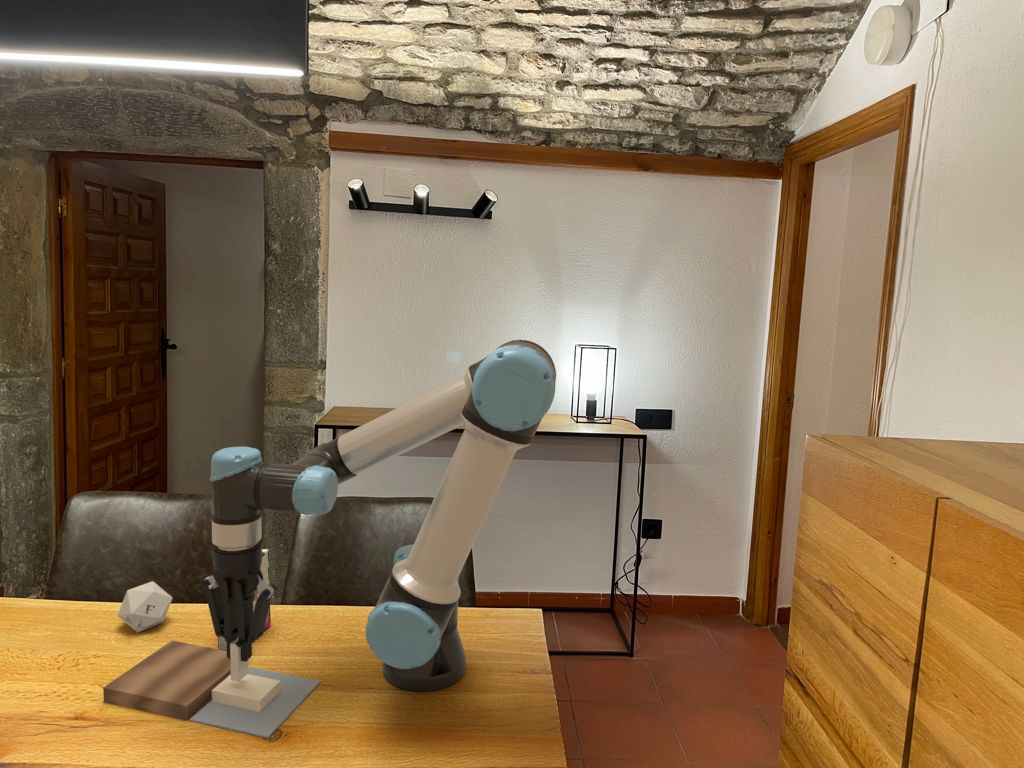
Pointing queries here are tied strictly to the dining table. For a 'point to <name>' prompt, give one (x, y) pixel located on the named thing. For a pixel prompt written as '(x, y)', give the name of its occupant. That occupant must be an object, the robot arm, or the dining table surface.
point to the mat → (269, 716)
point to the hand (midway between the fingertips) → (239, 676)
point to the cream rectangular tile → (247, 692)
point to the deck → (171, 680)
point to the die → (144, 606)
